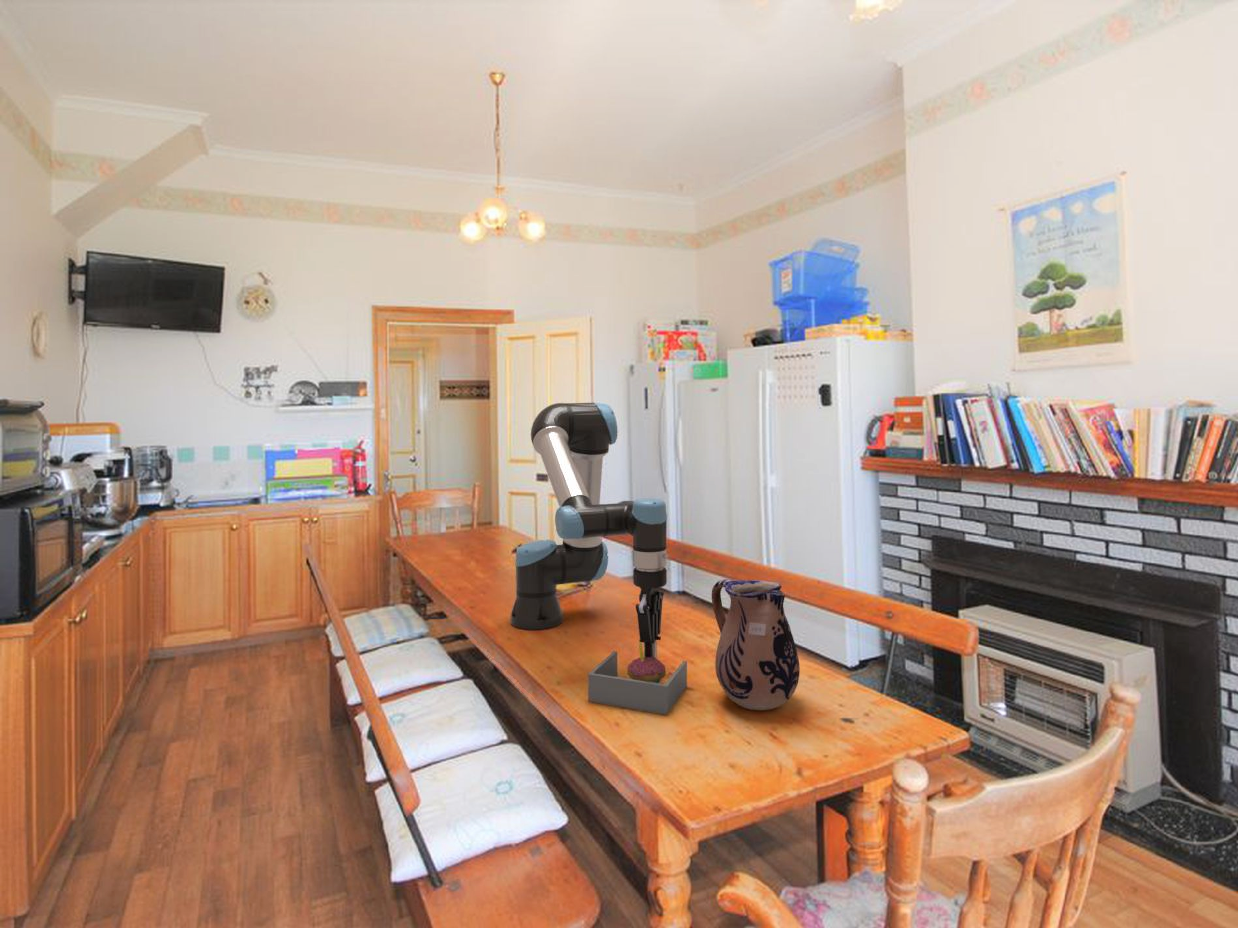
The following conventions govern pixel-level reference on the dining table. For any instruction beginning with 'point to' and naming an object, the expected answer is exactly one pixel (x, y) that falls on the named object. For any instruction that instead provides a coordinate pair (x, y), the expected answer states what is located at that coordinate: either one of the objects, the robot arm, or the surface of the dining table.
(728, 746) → the dining table surface
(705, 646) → the dining table surface
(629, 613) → the dining table surface
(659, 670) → the cupcake
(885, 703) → the dining table surface
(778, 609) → the ceramic pitcher
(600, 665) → the box
